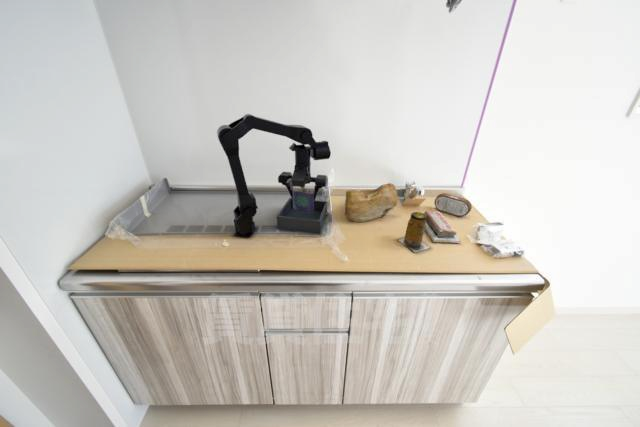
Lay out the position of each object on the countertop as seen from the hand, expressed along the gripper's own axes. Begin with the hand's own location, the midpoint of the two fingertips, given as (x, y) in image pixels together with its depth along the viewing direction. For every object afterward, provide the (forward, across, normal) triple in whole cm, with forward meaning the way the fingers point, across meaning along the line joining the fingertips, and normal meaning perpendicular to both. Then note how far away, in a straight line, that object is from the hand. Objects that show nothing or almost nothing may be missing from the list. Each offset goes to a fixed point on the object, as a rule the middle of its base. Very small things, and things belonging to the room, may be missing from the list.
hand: (303, 198), depth 98 cm
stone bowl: (+10, +26, +12) cm, 31 cm away
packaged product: (+10, +55, +4) cm, 56 cm away
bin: (+10, 0, 0) cm, 10 cm away
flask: (+5, 0, 0) cm, 5 cm away
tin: (+10, +64, +21) cm, 68 cm away
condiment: (+10, +44, -8) cm, 46 cm away
